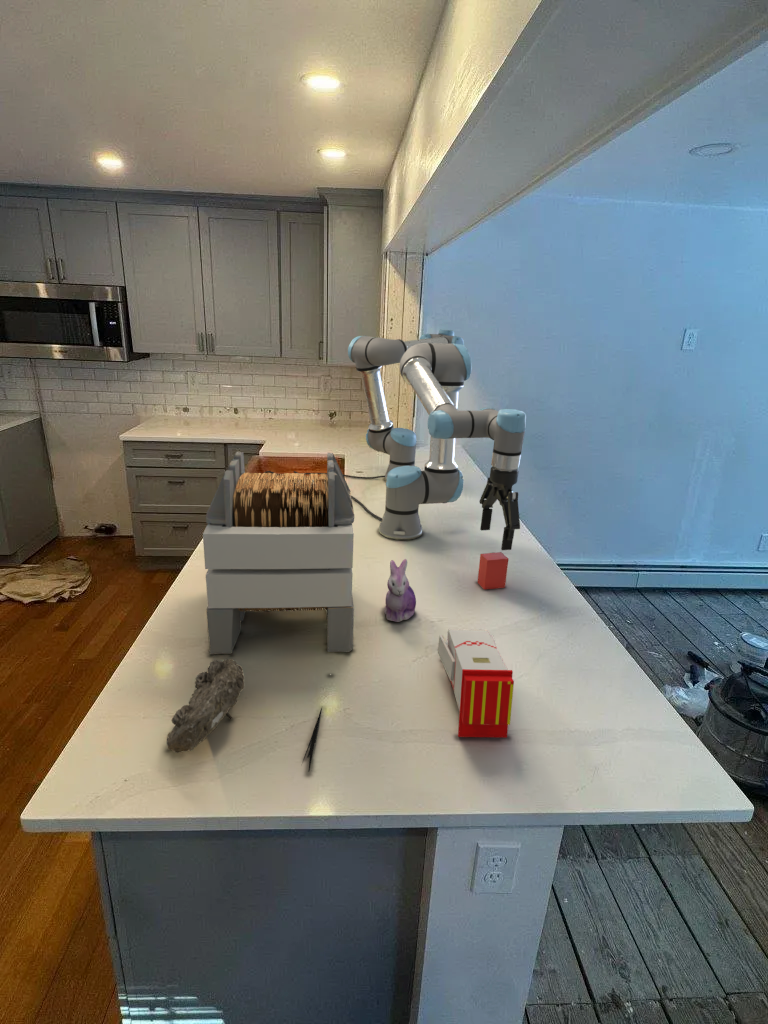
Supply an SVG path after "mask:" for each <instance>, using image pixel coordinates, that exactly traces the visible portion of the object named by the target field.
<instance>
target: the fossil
mask: <svg viewBox="0 0 768 1024" xmlns="http://www.w3.org/2000/svg"><path fill="white" fill-rule="evenodd" d="M243 670H244V669H243V667H242V665H240V664H237V662H236V661H235V660H234V659H232V658H231V659H227V658H226V659H224V660H223V661H222V660H217V659H212V660H211V661H210V663H209V665H208V666H207V671H201V672H199V673H198V674H197V675H196V676H195V680H194V684H195V685H194V687H195V689H194V690H193V693H192V694H191V697H190V698H189V700H188V704H184V705H182V706H181V707H180V709H177V710H176V711H175V713H174V715H173V716H172V718H171V723H172V724H173V727H172V730H171V731H170V732H168V734H167V738H166V741H167V742H166V745H167V749H168V750H169V751H173V752H174V753H176V754H178V753H182V752H188V751H189V752H192V751H193V750H195V748H196V747H197V746H199V744H200V743H201V742H203V741H204V740H205V739H206V738H207V737H208V736H209V735H210V734H211V733H212V732H214V730H215V729H217V727H218V726H219V724H220V722H221V721H222V720H223V719H224V718H225V716H226V717H227V719H229V720H233V717H232V715H230V714H229V710H230V709H231V708H234V706H235V704H236V703H237V702H238V699H239V697H240V695H241V693H242V691H243V690H245V689H244V688H245V675H244V671H243Z"/></svg>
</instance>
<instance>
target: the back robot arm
mask: <svg viewBox="0 0 768 1024" xmlns="http://www.w3.org/2000/svg"><path fill="white" fill-rule="evenodd" d="M419 343H443V344H451V343H453V344H461V345H464V346H465V341H464V339H463V337H461V336H457V335H455V331H454V330H452V329H440V330H438V333H424V334H422V335H421V336H420V337H419V339H412V340H411V339H410V340H403V339H401V338H398V339H392V338H391V339H390V338H385V337H377V336H368V335H358V336H355V337H354V338H352V340H351V341H350V343H349V344H348V347H347V356H348V358H349V360H350V362H352V363H354V364H355V369H356V372H357V373H359V374H360V377H361V382H362V387H363V392H364V397H365V401H366V402H365V403H366V406H367V411H368V417H369V421H370V423H369V424H368V428H367V430H366V433H365V441H366V444H367V446H368V447H369V448H370V449H371V450H374V451H375V452H378V453H383V454H386V455H389V460H388V461H389V463H388V466H387V469H386V471H385V474H384V475H377V476H358V475H357V476H355V475H349V474H343V476H344V477H346V478H353V479H360V480H361V479H363V480H371V479H373V480H374V479H381V478H384V481H385V482H386V481H387V474H388V472H389V471H390V470H392V469H394V468H396V467H400V466H416V452H417V434H416V432H414V430H411V429H409V428H405V427H404V428H403V427H395V426H394V422H393V420H391V419H390V418H389V412H388V407H387V402H386V397H385V390H384V386H383V380H382V374H381V368H382V367H383V366H389V365H390V366H391V365H394V364H395V365H396V364H400V361H401V358H402V356H403V354H404V353H405V352H406V351H407V350H408V349H409V348H410V347H412V346H413V345H416V344H419ZM263 473H271V474H272V473H275V472H274V471H271V470H266V471H264V472H263ZM303 473H304V474H306V476H307V474H308V476H309V474H317V475H321V474H327V472H303ZM278 474H279V475H280V474H281V475H282V474H283V475H284V473H277V475H278Z"/></svg>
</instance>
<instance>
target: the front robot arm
mask: <svg viewBox="0 0 768 1024" xmlns="http://www.w3.org/2000/svg"><path fill="white" fill-rule="evenodd" d="M472 363H473V361H472V356H471V354H470V351H469V349H468V348H467V347H466V346H465V344H464V345H461V344H453V343H451V344H443V343H419V344H416V345H413V346H412V347H410V348H409V349H408V350H407V351H406V352H405V353H404V354H403V356H402V358H401V361H400V363H399V373H400V376H401V378H402V379H403V381H404V382H405V384H407V385H408V386H411V388H412V390H413V391H414V393H415V395H416V396H417V398H418V400H419V401H420V403H421V404H422V407H423V408H424V409H425V411H426V413H427V414H428V417H427V429H428V434H429V436H430V440H429V441H430V442H429V458H428V461H426V463H424V468H423V469H424V470H422V469H421V467H419V466H416V465H415V466H400V467H396V468H394V469H392V470H390V471H389V472H388V474H387V481H385V504H384V505H385V507H384V508H385V509H384V513H383V515H382V517H380V516H378V515H377V514H375V513H373V512H372V511H370V510H369V509H368V507H366V505H364V503H362V502H361V501H360V500H358V499H357V497H355V496H353V495H351V499H352V500H354V501H355V502H356V503H358V504H359V505H360V506H361V507H362V508H363V509H364V511H366V512H367V513H368V514H370V515H371V516H372V517H374V518H375V519H378V520H380V521H381V522H379V527H378V533H379V534H380V535H381V536H382V537H385V538H387V539H389V540H395V541H410V540H415V539H418V538H420V537H421V536H422V535H423V525H422V524H421V518H420V515H419V507H420V505H429V504H447V503H454V502H456V501H457V500H458V499H459V498H460V497H461V495H462V492H463V490H464V483H465V482H464V476H463V472H462V471H461V470H460V469H459V465H458V464H457V463H456V461H455V453H456V439H484V438H486V439H487V438H488V439H490V440H492V441H493V446H492V447H493V448H492V452H491V453H492V455H491V462H490V466H491V467H490V470H489V477H487V481H486V484H485V486H484V489H483V492H482V494H481V496H480V499H479V505H481V508H482V514H481V520H480V521H481V522H480V531H490V530H491V524H492V515H493V509H494V504H495V503H496V501H498V503H499V506H500V507H502V509H501V510H502V514H503V519H504V523H505V526H504V527H503V533H502V539H501V540H502V541H501V547H500V549H501V551H512V548H513V541H514V536H515V530H520V529H521V521H520V511H519V492H518V491H513V486H514V485H516V484H517V483H518V480H519V472H520V471H519V468H520V464H521V459H522V452H523V445H524V439H525V434H526V433H525V432H526V429H527V425H526V423H527V414H526V412H524V411H523V410H518V409H515V408H502V409H499V410H498V409H495V408H493V407H492V408H491V407H482V408H480V409H479V410H459V409H458V406H459V393H460V390H461V389H462V388H464V385H465V381H467V380H469V379H470V378H471V374H472V370H473V364H472ZM293 473H299V472H297V471H296V470H293ZM306 477H307V475H306Z"/></svg>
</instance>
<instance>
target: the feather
mask: <svg viewBox="0 0 768 1024" xmlns="http://www.w3.org/2000/svg"><path fill="white" fill-rule="evenodd" d="M329 675H330V676H331V675H332V674H331V673H330V674H329ZM322 710H323V707H321V708H320V710H319V713H318V716H317V719H316V723H315V725H314V728H313V731H312V733H311V737H310V739H309V742H308V745H307V748H306V751H305V754H304V757H303V760H302V763H301V767H302V765H303V763H304V761H305V758H308V759H309V760H308V762H307V763H308V764H307V766H308V771H310V770H311V766H312V765H311V764H312V760H313V757H315V756H314V755H315V751H316V749H315V746H317V739H318V733H319V729H320V722H321V717H322V712H323V711H322ZM313 754H314V755H313ZM306 755H307V757H306Z"/></svg>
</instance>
